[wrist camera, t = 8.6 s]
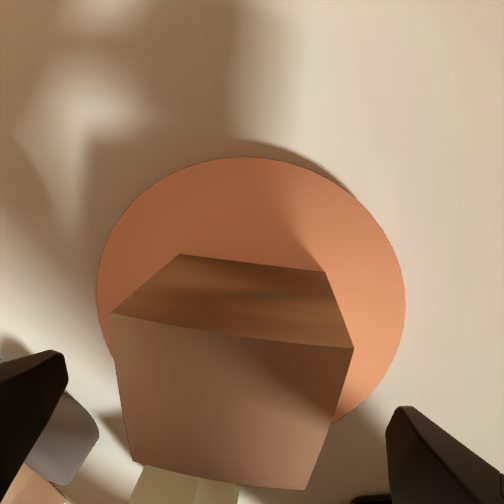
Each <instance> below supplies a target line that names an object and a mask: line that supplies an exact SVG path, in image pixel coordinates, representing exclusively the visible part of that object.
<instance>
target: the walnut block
mask: <svg viewBox="0 0 504 504" xmlns="http://www.w3.org/2000/svg"><path fill="white" fill-rule="evenodd" d="M110 320H111V331H112V341H113V350H114V359H115V367H116V374H117V381H118V388H119V395H120V401H121V407H122V412H123V418H124V423H125V428H126V433H127V438H128V443H129V447H130V452H131V456H132V460H133V461H135V462H138V463H142V464H145V465H149V466H152V467H156V468H160V469H164V470H168V471H172V472H176V473H180V474H185V475H189V476H194V477H199V478H204V479H209V480H215V481H221V482H227V483H234V484H241V485H249V486H257V487H267V488H278V489H294V490H305V488H306V486H307V483H308V481H309V479H310V476H311V474H312V471H313V469H314V466H315V464H316V461H317V459H318V456H319V454H320V451H321V449H322V446H323V443H324V441H325V438H326V435H327V433H328V430H329V427H330V424H331V422H332V419H333V416H334V413H335V410H336V407H337V404H338V401H339V398H340V395H341V392H342V389H343V385H344V382H345V379H346V376H347V372H348V369H349V366H350V362H351V359H352V355H353V352H354V346H353V343H352V340H351V338H350V335H349V332H348V330H347V327H346V324H345V322H344V319H343V316H342V314H341V311H340V308H339V306H338V303H337V301H336V298H335V296H334V293H333V290H332V288H331V285H330V283H329V280H328V278H327V275H326V273H325V272H320V271H312V270H304V269H296V268H287V267H279V266H271V265H263V264H255V263H247V262H239V261H231V260H224V259H216V258H208V257H200V256H193V255H185V254H178V255H177V256H176V257H175V258H174V259H172V260H171V261H170V262H169V263H168V264H166V265H165V266H164V267H163V268H162V269H160V270H159V271H158V272H157V273H156V274H154V275H153V276H152V277H151V278H150V279H148V280H147V281H146V282H145V283H144V284H143V285H141V286H140V287H139V288H138V289H137V290H136V291H134V292H133V293H132V294H131V295H130V296H129V297H127V298H126V299H125V300H124V301H123V302H122V303H120V304H119V305H118V306H117V307H116V308H115V309H114V310H112V311H111V312H110Z"/></svg>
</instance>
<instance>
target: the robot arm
mask: <svg viewBox="0 0 504 504" xmlns="http://www.w3.org/2000/svg"><path fill="white" fill-rule="evenodd" d="M67 384H68V372H67V368H66V363H65V358H64V356H63V354H62V353H60V352H57V351H54V350H47V351H43V352H40V353H36V354H33V355H29V356H26V357H22V358H18V359H15V360H11V361H8V362H4V363H0V504H1V502H2V500H3V498H4V496H5V494H6V493H7V491H8V489H9V487H10V485H11V484H12V482H13V480H14V478H15V477H16V475H17V473H18V471H19V470H20V468H21V466H22V465H23V463H24V461H25V460H26V458H27V456H28V455H29V453H30V451H31V450H32V448H33V446H34V445H35V443H36V441H37V440H38V438H39V437H40V435H41V433H42V432H43V430H44V429H45V427H46V425H47V424H48V422H49V420H50V418H51V416H52V414H53V412H54V410H55V408H56V406H57V404H58V402H59V400H60V398H61V396H62V394H63V392H64V390H65V388H66V386H67ZM385 438H386V449H387V461H388V476H389V485H390V491H391V495H389V496H378V497H364V498H357V499H355V500H353V501H352V502H351V504H504V474H502V473H500V472H499V471H498V470H497V469H495V468H494V467H493V466H491V465H490V464H489V463H487V462H486V461H485V460H483V459H482V458H480V457H479V456H478V455H476V454H475V453H474V452H472V451H471V450H470V449H468V448H467V447H466V446H464V445H463V444H462V443H460V442H459V441H458V440H456V439H455V438H454V437H452V436H451V435H450V434H448V433H447V432H446V431H444V430H443V429H442V428H440V427H439V426H438V425H436V424H435V423H434V422H432V421H431V420H430V419H428V418H427V417H426V416H425V415H423V414H422V413H421V412H419V411H418V410H417V409H415V408H414V407H412V406H399V407H397V408H396V410H395V411H394V414H393V416H392V418H391V420H390V422H389V424H388V426H387V429H386V433H385Z"/></svg>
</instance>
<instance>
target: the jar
mask: <svg viewBox="0 0 504 504" xmlns="http://www.w3.org/2000/svg"><path fill="white" fill-rule="evenodd" d="M64 502H65V498H64V497H63V496H62V495H61V494H60V493H59V492H58V491H57V490H56V488H55V487H54V486H53V485H52V484H51V483H50V482H49V481H48V480H46V479H44V478H43V477H41V476H40V475H38V474H37V473H35V472H34V471H33V470H32V469H30V468H29V467H28V466H27V465H26V464H25V463H23V465H22V466H21V468H20V470H19V471H18V473H17V475H16V477H15V478H14V480H13V482H12V484H11V485H10V487H9V489H8V491H7V493H6V494H5V496H4V498H3V500H2V502H1V504H64Z"/></svg>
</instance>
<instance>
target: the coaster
mask: <svg viewBox="0 0 504 504" xmlns="http://www.w3.org/2000/svg"><path fill="white" fill-rule="evenodd" d="M178 254H185V255H193V256H200V257H208V258H216V259H224V260H231V261H239V262H247V263H255V264H263V265H271V266H279V267H287V268H296V269H304V270H312V271H320V272H325V273H326V275H327V278H328V280H329V283H330V285H331V288H332V290H333V293H334V296H335V298H336V301H337V303H338V306H339V308H340V311H341V314H342V316H343V319H344V322H345V324H346V327H347V330H348V332H349V335H350V338H351V340H352V343H353V346H354V352H353V355H352V359H351V362H350V366H349V369H348V372H347V376H346V379H345V382H344V385H343V389H342V392H341V395H340V398H339V401H338V404H337V407H336V410H335V413H334V416H333V419H332V422H331V423H333V422H335V421H336V420H338V419H340V418H341V417H343V416H345V415H346V414H348V413H349V412H350V411H351V410H353V409H354V408H355V407H357V406H358V405H359V404H360V403H361V402H362V401H363V400H364V399H365V398H366V397H367V396H368V395H369V394H370V393H371V392H372V391H373V390H374V389H375V387H376V386H377V385H378V384H379V382H380V381H381V380H382V378H383V377H384V375H385V374H386V372H387V370H388V368H389V367H390V365H391V363H392V361H393V359H394V356H395V354H396V351H397V349H398V346H399V343H400V339H401V335H402V331H403V327H404V318H405V289H404V283H403V278H402V274H401V269H400V266H399V263H398V260H397V258H396V255H395V252H394V250H393V247H392V246H391V244H390V242H389V240H388V238H387V237H386V235H385V233H384V231H383V230H382V228H381V227H380V226H379V224H378V223H377V222H376V220H375V219H374V218H373V216H372V215H371V214H370V213H369V211H368V210H367V209H366V208H365V207H363V206H362V205H361V204H360V203H359V202H358V201H357V200H356V199H355V198H354V197H353V196H352V195H351V194H349V193H348V192H346V191H345V190H344V189H342V188H341V187H339V186H338V185H336V184H335V183H334V182H332V181H330V180H328V179H326V178H324V177H322V176H321V175H319V174H317V173H315V172H312V171H310V170H308V169H305V168H302V167H299V166H296V165H293V164H290V163H287V162H282V161H277V160H271V159H265V158H251V157H233V158H224V159H216V160H211V161H207V162H203V163H199V164H195V165H192V166H189V167H187V168H184V169H182V170H180V171H177V172H175V173H173V174H170V175H169V176H167V177H165V178H164V179H162V180H160V181H159V182H157V183H156V184H154V185H152V186H151V187H150V188H149V189H147V190H146V191H145V192H144V193H143V194H141V195H140V196H139V197H138V198H137V199H136V200H135V201H134V202H133V203H132V204H131V205H130V206H129V208H128V209H127V210H126V211H125V212H124V213H123V215H122V216H121V217H120V219H119V220H118V222H117V224H116V225H115V227H114V228H113V230H112V232H111V234H110V236H109V238H108V240H107V243H106V245H105V247H104V250H103V253H102V257H101V260H100V264H99V268H98V276H97V284H96V299H97V310H98V317H99V322H100V326H101V329H102V333H103V336H104V339H105V341H106V344H107V346H108V349H109V351H110V353H111V355H112V357H113V359H114V350H113V341H112V331H111V320H110V312H111V311H112V310H114V309H115V308H116V307H117V306H118V305H119V304H120V303H122V302H123V301H124V300H125V299H126V298H127V297H129V296H130V295H131V294H132V293H133V292H134V291H136V290H137V289H138V288H139V287H140V286H141V285H143V284H144V283H145V282H146V281H147V280H148V279H150V278H151V277H152V276H153V275H154V274H156V273H157V272H158V271H159V270H160V269H162V268H163V267H164V266H165V265H166V264H168V263H169V262H170V261H171V260H172V259H174V258H175V257H176V256H177V255H178ZM114 360H115V359H114Z"/></svg>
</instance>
